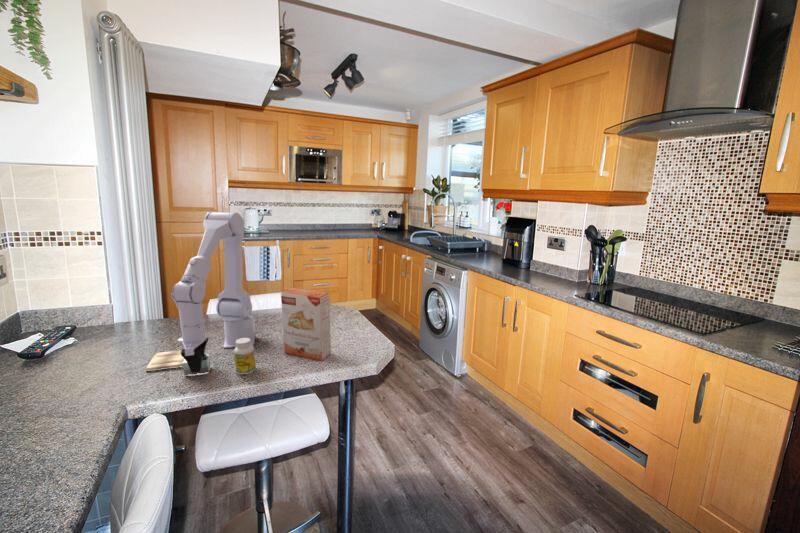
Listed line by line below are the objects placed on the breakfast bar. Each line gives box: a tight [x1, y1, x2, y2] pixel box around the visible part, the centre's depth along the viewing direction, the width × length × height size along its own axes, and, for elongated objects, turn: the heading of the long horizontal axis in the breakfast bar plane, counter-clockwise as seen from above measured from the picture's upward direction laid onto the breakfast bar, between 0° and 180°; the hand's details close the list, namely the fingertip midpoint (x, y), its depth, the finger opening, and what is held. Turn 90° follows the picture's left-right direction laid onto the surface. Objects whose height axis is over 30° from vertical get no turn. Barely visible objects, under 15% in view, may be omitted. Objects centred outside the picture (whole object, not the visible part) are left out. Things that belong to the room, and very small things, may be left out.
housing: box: [183, 353, 211, 376], centre depth 108 cm, size 6×4×4 cm
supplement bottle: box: [233, 338, 257, 375], centre depth 109 cm, size 5×5×10 cm
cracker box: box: [280, 287, 332, 362], centre depth 119 cm, size 14×6×21 cm, turn 70°
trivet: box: [145, 349, 185, 372], centre depth 114 cm, size 10×10×1 cm
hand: (197, 367), depth 109 cm, fingers closed on housing, 4 cm apart
